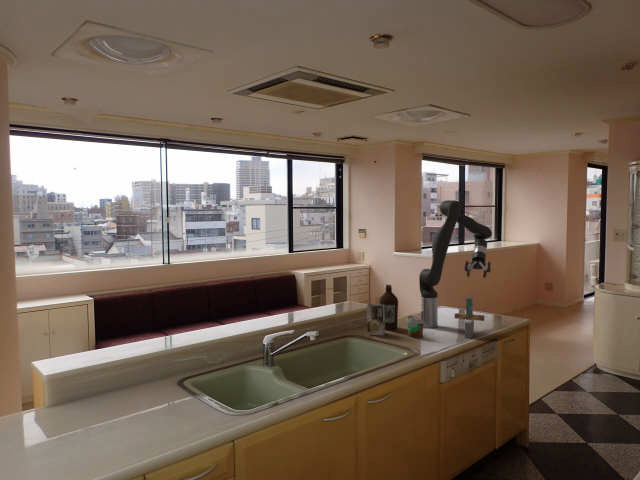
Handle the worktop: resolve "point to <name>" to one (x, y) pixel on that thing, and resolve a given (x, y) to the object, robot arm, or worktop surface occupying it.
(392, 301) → the olive oil
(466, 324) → the block
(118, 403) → the worktop surface
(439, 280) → the robot arm
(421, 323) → the food container
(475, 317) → the beam
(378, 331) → the coffee box
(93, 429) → the worktop surface
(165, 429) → the worktop surface
